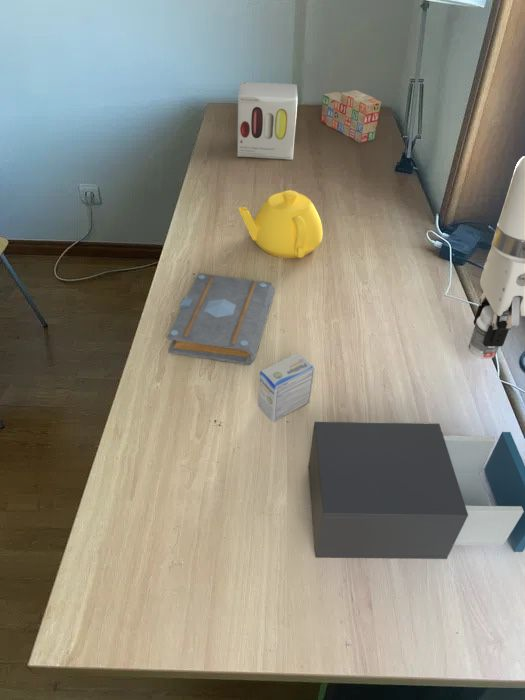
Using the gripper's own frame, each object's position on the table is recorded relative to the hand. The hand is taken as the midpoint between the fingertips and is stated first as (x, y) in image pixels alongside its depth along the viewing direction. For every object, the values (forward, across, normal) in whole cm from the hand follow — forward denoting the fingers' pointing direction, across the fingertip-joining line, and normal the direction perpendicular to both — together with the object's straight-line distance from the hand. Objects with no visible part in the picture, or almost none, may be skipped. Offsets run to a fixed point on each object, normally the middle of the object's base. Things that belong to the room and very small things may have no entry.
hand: (487, 333), depth 96 cm
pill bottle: (+4, 0, 0) cm, 4 cm away
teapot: (+8, +43, +34) cm, 55 cm away
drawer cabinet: (+10, -28, +23) cm, 38 cm away
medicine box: (+9, -8, +35) cm, 37 cm away
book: (+8, +13, +46) cm, 48 cm away
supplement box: (+7, +99, +37) cm, 105 cm away
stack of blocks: (+7, +117, +9) cm, 118 cm away
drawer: (+9, -28, +9) cm, 31 cm away
